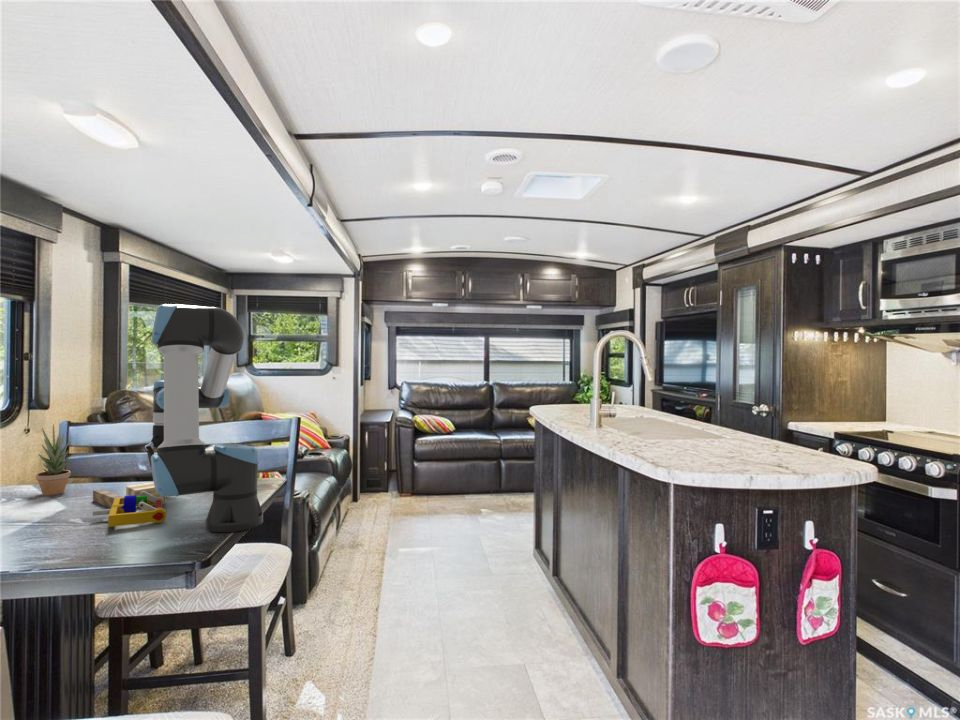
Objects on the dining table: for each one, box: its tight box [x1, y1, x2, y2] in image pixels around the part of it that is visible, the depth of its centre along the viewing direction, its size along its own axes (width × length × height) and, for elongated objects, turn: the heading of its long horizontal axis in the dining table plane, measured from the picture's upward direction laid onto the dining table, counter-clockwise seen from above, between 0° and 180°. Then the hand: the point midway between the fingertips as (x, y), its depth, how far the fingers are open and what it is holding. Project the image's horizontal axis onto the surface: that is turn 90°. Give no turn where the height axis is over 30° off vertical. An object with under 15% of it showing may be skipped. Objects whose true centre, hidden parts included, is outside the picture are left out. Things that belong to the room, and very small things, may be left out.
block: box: [125, 481, 157, 496], centre depth 181 cm, size 9×9×4 cm
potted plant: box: [35, 423, 73, 496], centre depth 183 cm, size 10×10×25 cm
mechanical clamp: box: [92, 491, 167, 528], centre depth 158 cm, size 18×6×30 cm
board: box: [92, 488, 124, 509], centre depth 170 cm, size 18×2×4 cm, turn 55°
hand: (163, 490), depth 184 cm, fingers closed
